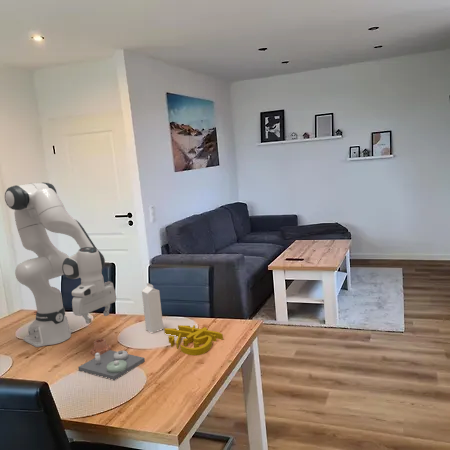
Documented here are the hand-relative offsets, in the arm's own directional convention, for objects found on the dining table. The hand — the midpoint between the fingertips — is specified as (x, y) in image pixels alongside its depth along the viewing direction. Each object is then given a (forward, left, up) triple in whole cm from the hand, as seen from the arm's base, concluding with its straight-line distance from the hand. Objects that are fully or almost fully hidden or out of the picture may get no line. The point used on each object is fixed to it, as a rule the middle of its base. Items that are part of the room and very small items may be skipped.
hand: (97, 319), depth 178 cm
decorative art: (+27, +23, -15) cm, 39 cm away
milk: (+5, +27, -14) cm, 31 cm away
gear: (-1, 0, -14) cm, 14 cm away
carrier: (+14, -8, -14) cm, 22 cm away
